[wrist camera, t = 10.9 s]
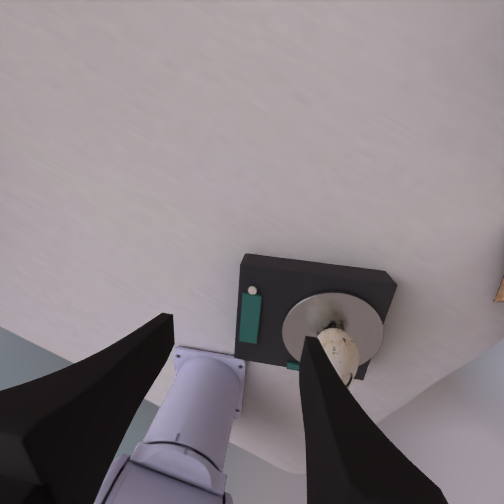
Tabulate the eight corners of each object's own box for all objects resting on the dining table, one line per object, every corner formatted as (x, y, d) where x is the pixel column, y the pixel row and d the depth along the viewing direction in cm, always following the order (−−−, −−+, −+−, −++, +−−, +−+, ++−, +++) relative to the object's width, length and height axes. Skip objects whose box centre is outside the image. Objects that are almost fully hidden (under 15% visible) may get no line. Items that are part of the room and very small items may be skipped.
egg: (341, 354, 20) (358, 413, 15) (305, 342, 20) (310, 398, 15) (358, 325, 19) (381, 381, 14) (319, 313, 19) (330, 364, 14)
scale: (356, 359, 24) (364, 385, 21) (238, 340, 25) (232, 362, 22) (385, 270, 20) (400, 288, 17) (245, 253, 21) (239, 266, 18)
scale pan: (366, 373, 21) (368, 378, 20) (276, 358, 22) (276, 363, 21) (394, 296, 18) (397, 301, 17) (288, 282, 19) (288, 286, 18)
